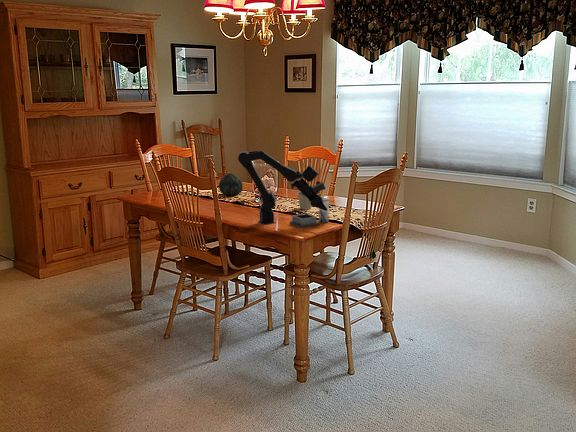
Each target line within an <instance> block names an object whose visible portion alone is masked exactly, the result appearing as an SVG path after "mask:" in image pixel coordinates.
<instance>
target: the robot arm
mask: <svg viewBox="0 0 576 432" xmlns="http://www.w3.org/2000/svg"><path fill="white" fill-rule="evenodd" d="M237 159H238V161H239V163H240V164H241V165H242V167H243V168H244V169H245V170H246V171H247V173H248V174H249V176H250V178H251V180H252V181H253V183H254V185H255V187H256V188H257V190H258V192H259V193H260V196H261V199H262V203H261V205H260V209H259V212H258V213H259V220H258V223H259V224H262V225H268V224H274V223H275V214H274V210H273V209H275V207H276V203H277V202H276V201H277V200H276V198H277V197H276V196H275V195H274V192H273V191H272V190H271V191H269V190H268V189H267V187H266V185H265V184H264V182H263V180H262V178H261V177H260V174H259V172H258V171H257V169H256V167H255V165H254V163H253V161H256V160H261V161H263V162H264V163H265V164H268V165H269V166H270V167H272V168H274V170H276V171H278V172H279V173H280V174H281V175H282V177H283V178H285V180H286V181H288V182H289V183H290V188H291V190H293V189H294V187H295V188H296V189H297V190H298V192H301V193H302V194H303V195H304V196H305V197H306V198H307V199H308V200H309V201H310V204H311V208H317V209H319V208H320V209H322V210H325V211H327V210H328V209H327V208H326V206H325V205H324V204H323V202H322V197H321V196H322V194H321V193H320V192H321V191H323V190H326V186H325V184H324V182H323V181H320V180H317V181H316V182H315V184H314V185H311V184H309V182H310V183H312V182H313V181H314V180H315V179H316V178H317V177H318V176H319V174H320V173H319V172H318V171H317V170H316V169H315V168H313V166H311V165H309V164H308V165H307V166H306V168H305V169H304V170H302V171H297V170H295V169H294V168H291V167H289V166H287V165H284V164H282V163H281V162H280V161H278V160H277V159H276V158H274V157H272V156H271V155H270V154H268V153H266V151H264V150H263V149H259V150H253V151H247V150H242V151H240V153H239V154H238V158H237Z"/></svg>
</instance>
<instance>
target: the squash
mask: <svg viewBox="0 0 576 432" xmlns="http://www.w3.org/2000/svg"><path fill="white" fill-rule="evenodd" d="M243 187H244V185H243V181H242V180H241V179H240V178H239V177H238V176H236V175H235V174H233V173H229V172H228V173H226V174H225V175H224V176H223V177H222V178H220V180H219V183H218V189H219V191H220V193H222V194H224V195H225V196H227V195H229V196H230V195H233V196H237V195H239V194H241V192H242V191H243Z"/></svg>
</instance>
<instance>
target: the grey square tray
mask: <svg viewBox="0 0 576 432" xmlns="http://www.w3.org/2000/svg"><path fill="white" fill-rule="evenodd" d="M291 217H292V220H290V221H289V224H290V225H292V226H296V227H298V228H300V229H302V228H308V227H314V226H320V222H319V221H317V216H314V215H312V214H311V213H310V214H309V213H301V214H295V215H292V216H291Z"/></svg>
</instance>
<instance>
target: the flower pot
mask: <svg viewBox="0 0 576 432" xmlns="http://www.w3.org/2000/svg"><path fill="white" fill-rule="evenodd" d="M296 195H297V198H298V203H299V208H300V210H301V209H302V210H308V209H309V210H310V209H312V206H311V204H310V201H309V200H308V199H307V198H306V197H305V196H304V195H303V194H302V193H301V192H300V191H298V192H297V193H296Z"/></svg>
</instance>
